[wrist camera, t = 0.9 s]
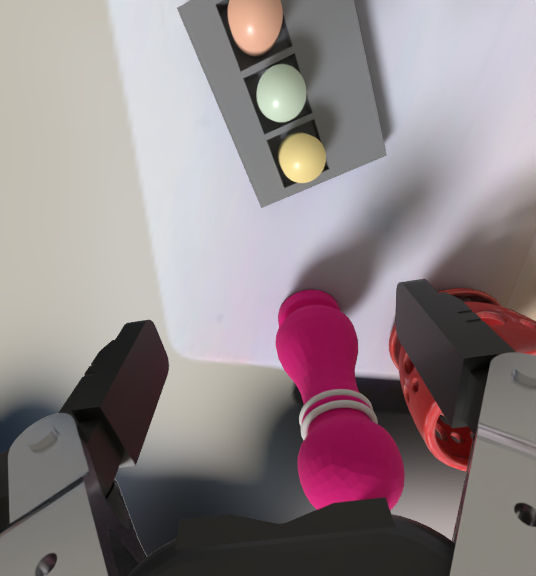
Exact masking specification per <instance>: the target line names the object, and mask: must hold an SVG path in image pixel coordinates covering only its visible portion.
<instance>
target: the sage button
mask: <svg viewBox="0 0 536 576" xmlns="http://www.w3.org/2000/svg"><path fill="white" fill-rule="evenodd" d="M256 98H257V104H258V107H259V109H260V111H261V112H262V113H263V114H264V115H265V116H266V117H267V118H269V119H271V120H273V121H276V122H286V121H289V120H292V119H293V118H295V117H296V116H297V115H298V114H299V113H300V112H301V110H302V108H303V106H304V104H305V100H306V85H305V82H304V79H303V77H302V75H301V74H300V73H299V72H298V71H297V70H296V69H295V68H293V67H292V66H289V65H286V64H278V65H275V66H272V67H271V68H269V69H268V70H266V72H265V73H264V74H263V75H262V77H261V78H260V81H259V83H258V87H257V94H256Z"/></svg>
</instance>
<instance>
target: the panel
mask: <svg viewBox="0 0 536 576" xmlns="http://www.w3.org/2000/svg"><path fill="white" fill-rule="evenodd" d="M229 1H230V0H191V1H189V2H187V3H185V4H184V5H182V6H180V7H178V8H177V9H178V11H179V14H180V16H181V19H182V21H183V23H184V26H185V28H186V30H187V33H188V35H189V38H190V40H191V42H192V45H193V47H194V49H195V52H196V54H197V56H198V59H199V61H200V64H201V66H202V68H203V71H204V73H205V75H206V78H207V80H208V83H209V85H210V87H211V90H212V92H213V94H214V97H215V99H216V101H217V104H218V106H219V109H220V111H221V113H222V116H223V118H224V120H225V123H226V125H227V128H228V130H229V132H230V135H231V137H232V139H233V142H234V144H235V146H236V149H237V151H238V154H239V156H240V158H241V161H242V163H243V165H244V168H245V170H246V172H247V175H248V177H249V180H250V182H251V184H252V187H253V189H254V191H255V194H256V196H257V199H258V201H259V203H260V206H261V208H262V207H265V206H267V205H269V204H272V203H274V202H277V201H279V200H281V199H284V198H286V197H289V196H291V195H293V194H296V193H298V192H300V191H303V190H305V189H308V188H310V187H312V186H315V185H317V184H319V183H322V182H324V181H327V180H329V179H331V178H334V177H336V176H339V175H341V174H343V173H346V172H348V171H350V170H353V169H355V168H358V167H360V166H362V165H365V164H367V163H370V162H372V161H374V160H377V159H379V158H381V157H384V156H386V150H385V145H384V141H383V136H382V131H381V126H380V122H379V117H378V112H377V107H376V103H375V98H374V93H373V88H372V83H371V79H370V74H369V69H368V64H367V60H366V55H365V50H364V45H363V41H362V36H361V31H360V26H359V22H358V17H357V12H356V7H355V3H354V0H280V1H281V4H282V10H283V19H282V25H281V29H280V32H279V35H278V38H277V41H276V43H275V45H274V46H273V48H272V49H271V50H270V51H269V52H268V53H266V54H265V55H263V56H259V57H252V56H249V55H246V54H245V53H243V52H242V51H241V50H240V49H239V48H238V46H237V45H236V43H235V41H234V39H233V36H232V32H231V29H230V25H229V21H228V5H229ZM278 64H286V65H289V66H292V67H293V68H295V69H296V70H297V71H298V72H299V73H300V74H301V75H302V77H303V79H304V82H305V85H306V100H305V104H304V106H303V108H302V110H301V112H300V113H299V114H298V115H297V116H296V117H295V118H293V119H292V120H289V121H286V122H276V121H273V120H271V119H269V118H267V117H266V116H265V115H264V114H263V113H262V112H261V111H260V109H259V107H258V104H257V98H256V94H257V87H258V83H259V81H260V78H261V77H262V75H263V74H264V73H265V72H266V70H268V69H269V68H271V67H272V66H275V65H278ZM294 132H303V133H306V134H309V135H311V136H313V137H315V138H317V139H318V140H319V141H320V142H321V143H322V145H323V147H324V149H325V153H326V162H325V166H324V169H323V171H322V172H321V174H320V175H319V176H318V177H317V178H316V179H314V180H312V181H310V182H307V183H297V182H294V181H292V180H290V179H289V178H288V177H287V176H286V175H285V173H284V172H283V170H282V168H281V166H280V163H279V161H278V149H279V146H280V144H281V142H282V140H283V139H284V138H285V137H286V136H288V135H289V134H291V133H294Z"/></svg>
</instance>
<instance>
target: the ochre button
mask: <svg viewBox="0 0 536 576" xmlns="http://www.w3.org/2000/svg"><path fill="white" fill-rule="evenodd" d="M278 161H279V163H280V166H281V168H282V170H283V172H284V173H285V175H286V176H287V177H288V178H289V179H290V180H292V181H294V182H297V183H307V182H310V181H312V180H314V179H316V178H317V177H318V176H319V175H320V174H321V172H322V171H323V169H324V166H325V162H326V153H325V149H324V147H323V145H322V143H321V142H320V141H319V140H318V139H317V138H315V137H313V136H311V135H309V134H306V133H303V132H294V133H291V134H289V135H288V136H286V137H285V138H284V139H283V140H282V142H281V144H280V146H279V149H278Z"/></svg>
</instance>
